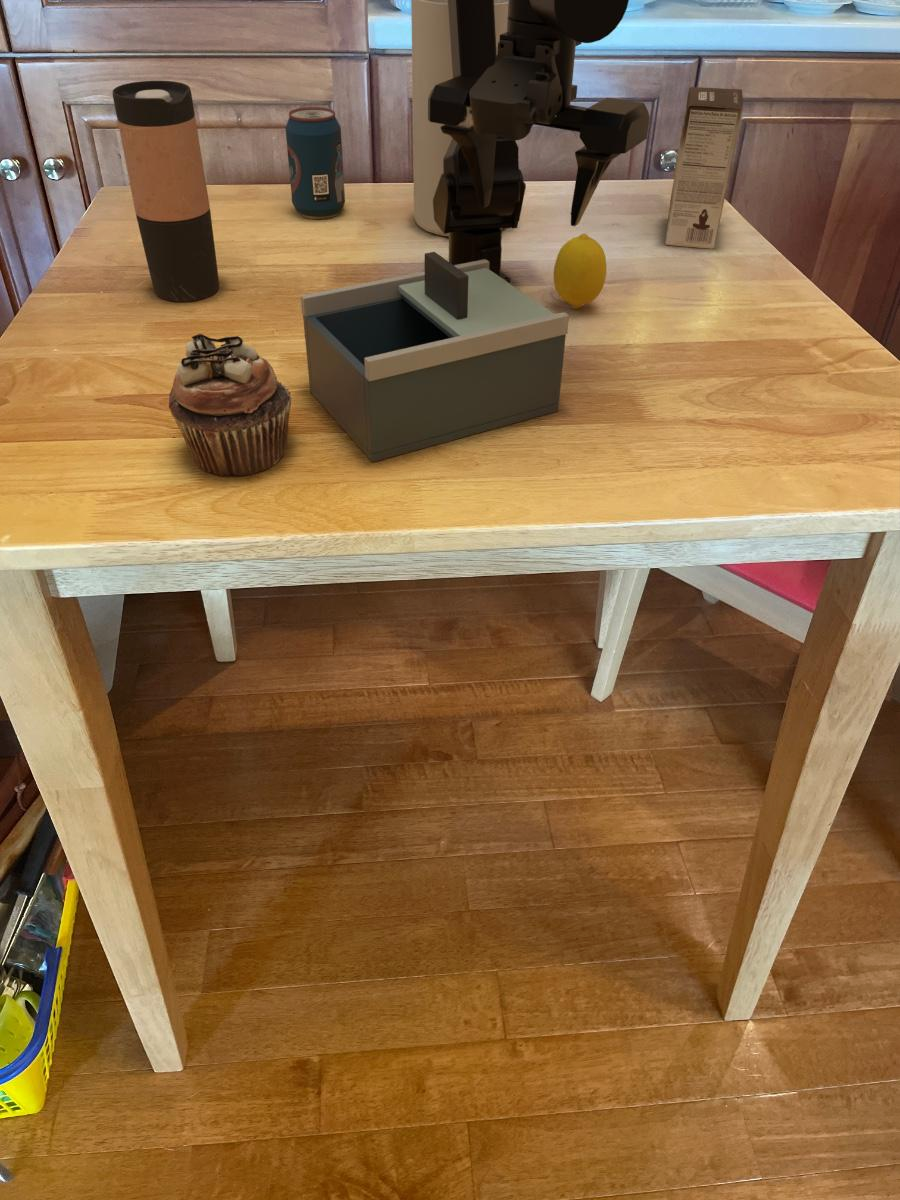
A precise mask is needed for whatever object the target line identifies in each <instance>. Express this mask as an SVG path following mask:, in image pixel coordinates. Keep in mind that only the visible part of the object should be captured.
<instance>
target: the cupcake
mask: <svg viewBox="0 0 900 1200" xmlns="http://www.w3.org/2000/svg"><path fill="white" fill-rule="evenodd" d="M190 338H191V341H188V342H187V343H186V345H185V356H186V357H184V358H182V359H181V361H180V363H179V364H177V372H176V373H175V375H174V379H173V382H172V387H171V390H170V392H169V395H168V409H169V410H170V413H171V416H172V418H173V420H174V421H175V423H176V424H177V427H178V428H179V430H180V432H181V434H182V436H183V439H184V441H185V444H186V446H187V448H188V450H189V453H190V455H191V457H192V460H193V461H194V463H195V465H196V466H197V467H198V468H199V470H202V471H204V472H205V473H206V472H207V473H208V474H210V475H211V474H212V475H215V476H218V477H244V476H253V475H255V474H258V473H260V472H263V471H267V470H268V469H271V468H272V467H273V466H275V465H276V464H277V463H278V462H280V461H281V460H282V459H283V456H284V455H286V451H287V446H288V445H287V444H288V434H289V421H290V414H291V413H290V412H291V406H292V397H291V394H292V393H291V392H290V391H289V390H290V389H289V388H287V387H286V385H285V384H282V382H280V381H278V377H277V375H276V373H275V371H274V368H273V367H272V365H271V364H270V362H269V361H268V360H266V358H263V357H261V356H260V355H259V354H258V352H257V351H256V349H255V348H253V347H252V346H249V345H248V344H246V343H244V340H243V338H241V337H240V336H239V335H235V336H225V337H221V338H212V337H209V336H207V335H204V334H203V333H198V334H195V335H192V336H191V337H190ZM214 342H215V343H222V344H221V345H220V347H216V345H215V343H214Z"/></svg>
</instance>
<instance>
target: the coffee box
mask: <svg viewBox="0 0 900 1200" xmlns="http://www.w3.org/2000/svg"><path fill="white" fill-rule="evenodd" d="M743 100H744V99H743V89H742V88H719V87H702V86H689V87H688V92H687V97H686V102H685V109H684V115H683V121H682V128H681V132H680V133H681V134H680V139H679V145H678V150H677V151H678V152H677V155H676V163H675V169H674V174H673V175H674V176H673V181H672V189H671V194H670V203H669V208H668V215H667V216H668V217H667V225H666V232H665V233H666V234H665V242H664V244H665V245H666V246H674V247H675V246H676V247H687V248H698V249H710V250H711V249H712V250H713V249H715V248H716V244H717V243H716V242H717V239H718V238H717V237H718V232H719V228H720V223H721V218H722V212H723V207H724V203H725V198H726V194H727V188H728V184H729V179H730V175H731V169H732V165H733V160H734V156H735V155H734V154H735V149H736V145H737V140H738V136H739V130H740V125H741V120H742V115H743V111H744V101H743Z"/></svg>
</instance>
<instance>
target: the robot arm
mask: <svg viewBox="0 0 900 1200" xmlns="http://www.w3.org/2000/svg"><path fill="white" fill-rule="evenodd" d="M629 1H630V0H509V3H508V21H507V32H506V33H503V34H501V35H500V41H499V43H498V51H497V52H496V32H495V12H494V0H448V10H449V26H450V41H451V56H452V71H453V78H452V79H450V80H447V81H445V82H442V83H440V84H437V85H435V86H434V88H433V89H432V91H431V93H430V95H429V98H428V120H429V121H430V122H434V123H440V124H445V125H443V126H441V130H442V132H443V133H444V134H448V135H450V136H451V137H452V141H451V143H450V145H449V147H448V149H447V152H446V154H445V156H444V159H443V167H444V173H443V174H442V175H441V178H440V180H439V183H438V186H437V189H436V192H435V195H434V198H433V211H434V221H435V222H436V224H437V225H438V226H439V228H440V229H441V231H442V232H443V233H444V234H448V233H449V237H448V262H450V263H451V264H452V265H458V264H463V263H469V262H474V261H479V260H484V259H486V260H487V261H489V270H490V271H492V272H493V273H495V274H496V275H498V276H499V277H501V278H502V279H504V280H505V281H507V282H508V283H510V284H511V282H512V278H511V277H510V276H509V275H507V274H506V273H504V272H502V271H501V270H502V269H501V268H502V249H503V248H502V240H503V239H502V237H503V235H502V234H503V229H518V225H519V222H520V219H521V213H522V209H523V203H524V199H525V192H526V188H527V184H526V182H525V181H524V176H523V172H522V170H521V169H520V166H519V165H520V164H519V146H518V143H517V141H521V140H523V139H525V138H526V137H527V136H528V135H530V133H531V129H532V128H533V126H541V127H546V128H552V129H559V130H565V131H571V132H577V133H579V139H580V141H581V142H582V144H583V145H584V146H582V147H580V148H579V149H577V150H576V151H574V155H575V161H576V164H577V170H576V177H575V182H574V183H575V184H574V189H573V195H572V201H571V202H572V203H571V208H570V226H571V227H576V226H578V225H579V224H580V222H581V220H582V218H583V216H584V214H585V212H586V210H587V208H588V206H589V204H590V201H591V199H592V197H593V196H594V193H595V191H596V190H597V187H598V185H599V183H600V182H601V179H602V178H603V176H604V174H605V172H606V171H607V170H608V168H609V166H610V164H611V163H612V161H613V160H614V159H616V158H617V157H619V156H620V155H622V154H626V153H628V152H629V151H631V150H632V149H634V148H635V147H637V146H638V145H640V144H641V143H642V142H644V141H645V140H647V139H648V133H649V126H650V120H651V117H650V113H649V110H648V108H647V106H646V104H645V102H641V101H640V102H639V101H633V100H626V99H621V98H614V97H605V98H603V99H601V100H599V101H597V102H596V103H594V104H592V105H590V106H589V107H586V106H579V105H574V104H573V105H572V104H571V102H572V101H574V100H576V99H577V95H578V94H577V93H578V84H573V78H574V68H575V60H576V59H575V57H576V47H577V46H580V45H582V43H583V44H592V43H595V42H599V41H601V40H603V39H605V38H607V37H608V36H609V35H611V33H612V32H613V31H614V30H616V29H617V28H618V26H619V25H620V23H621V22H622V20H623V18H624V16H625V13H626V11H627V9H628V6H629ZM451 211H452V213H451ZM502 228H503V229H502ZM501 229H502V230H501Z"/></svg>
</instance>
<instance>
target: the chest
mask: <svg viewBox="0 0 900 1200" xmlns="http://www.w3.org/2000/svg"><path fill="white" fill-rule="evenodd" d="M454 266H455V267H457V268H458V269H459V270H461V271H462V272H468V271H473V270H478V269H483V268H487V269H489V261H487V260H486V259H484V260H479V261H474V262H469V263H463V264H458V265H454ZM423 280H425V270H424V271H423V270H422V271H417V272H413V273H408V274H403V275H398V276H393V277H387V278H381V279H378V280H371V281H367V282H361V283H357V284H356V283H355V284H352V285H347V286H341V287H336V288H331V289H326V290H320V291H316V292H312V293H306V294H300V297H299V298H300V307H301V314H302V321H303V330H304V340H305V341H304V342H305V353H306V361H307V363H306V364H307V372H308V373H307V374H308V383H309V392H310V394H311V395H312V396H313V397H314V399H316V401H317V402H318V403H319V404H320V405H321V406H322V407H323V408H324V410H325V411H326V412H327V413H328V414H329V415H330V416H331V417H332V419H333V420H334V421H335V422H336V423H337V424H338V426H339V427H340V428H341V429H342V430H343V431H344V432H345V433H346V434H347V436H348V437H349V438H350V439H351V440H352V441H353V443H354V444H355V445H356V446H357V447H358V448H359V449H360V450H361V452H363V454H364V455H365V456H366V457H367V458H368V459H369V461H371V463H375V462H378V461H383V460H385V459H390V458H393V457H396V456H401V455H404V454H405V455H406V454H408V453H411V452H414V451H419V450H422V449H426V448H430V447H433V446H437V445H441V444H445V443H448V442H451V441H456V440H459V439H463V438H466V437H470V436H473V435H476V434H480V433H483V432H488V431H491V430H495V429H498V428H503V427H505V426H509V425H513V424H516V423H520V422H524V421H528V420H531V419H535V418H538V417H542V416H545V415H549V414H553V413H557V412H559V408H560V407H559V406H560V404H559V403H560V394H561V386H562V376H563V366H564V357H565V355H564V354H565V347H566V337H567V336H566V335H568V331H569V323H570V315H569V314H568V313H566V312H565V311H562V312H559V313H558V312H557V313H554V314H553V315H549V316H545V317H540V318H536V319H532V320H527V321H523V322H519V323H514V324H510V325H505V326H501V327H497V328H492V329H488V330H484V331H479V332H475V333H471V334H466V335H462V336H457V337H454V336H452V335H451V334H450V333H449V332H447V331H446V330H445V329H444V328H443V327H441V326H440V325H439V324H438V323H436V322H435V321H434V320H433V319H431V318H430V317H429V316H428V315H427V314H425V313H424V312H423V311H422V310H420V309H419V308H418V307H417V306H415V305H414V304H413V303H412V302H411V301H409V300H408V299H407V298H406V297H404V296H403V295H402V294H401V293H400V292H399V291H398V286H399V285H403V284H408V283H413V282H418V281H423Z"/></svg>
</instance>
